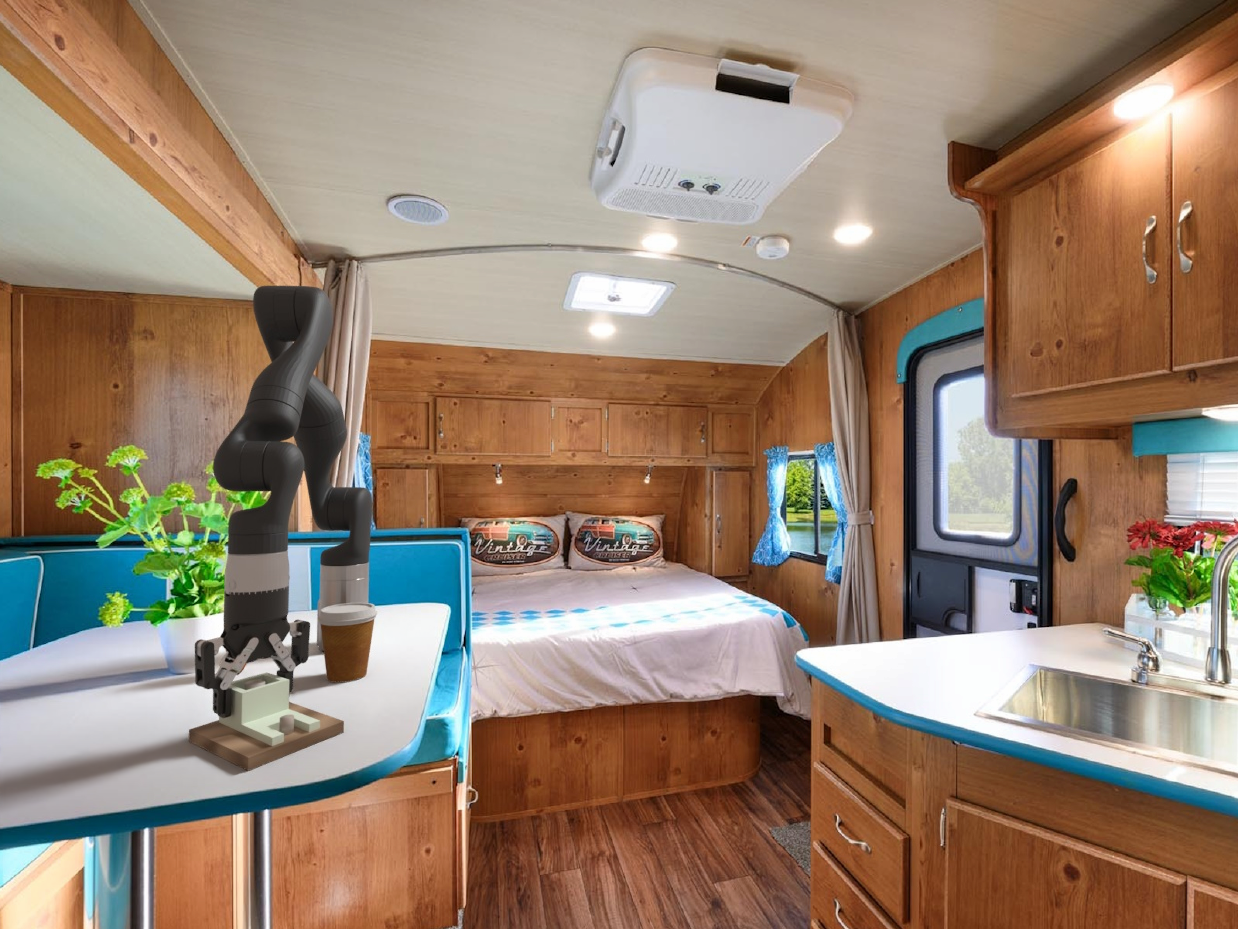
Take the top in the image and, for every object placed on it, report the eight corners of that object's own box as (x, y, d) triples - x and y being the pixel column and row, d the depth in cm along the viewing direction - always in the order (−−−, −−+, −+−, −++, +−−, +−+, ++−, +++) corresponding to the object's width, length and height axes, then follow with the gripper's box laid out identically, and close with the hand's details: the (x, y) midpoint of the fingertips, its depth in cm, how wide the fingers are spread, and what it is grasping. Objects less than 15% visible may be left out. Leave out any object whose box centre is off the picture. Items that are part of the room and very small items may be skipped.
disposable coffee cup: (304, 680, 97) (305, 610, 97) (353, 664, 105) (354, 600, 105) (340, 689, 92) (341, 616, 93) (388, 672, 101) (389, 605, 101)
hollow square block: (218, 722, 76) (219, 684, 76) (265, 707, 81) (266, 672, 81) (272, 746, 69) (273, 705, 69) (319, 728, 74) (320, 689, 74)
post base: (188, 741, 73) (190, 690, 74) (282, 709, 84) (283, 665, 84) (248, 770, 66) (249, 714, 66) (343, 732, 76) (344, 683, 76)
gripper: (294, 575, 85) (292, 685, 85) (183, 590, 73) (179, 719, 72) (323, 580, 82) (321, 695, 81) (211, 596, 69) (207, 732, 69)
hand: (254, 706), depth 77 cm, fingers open, 7 cm apart
